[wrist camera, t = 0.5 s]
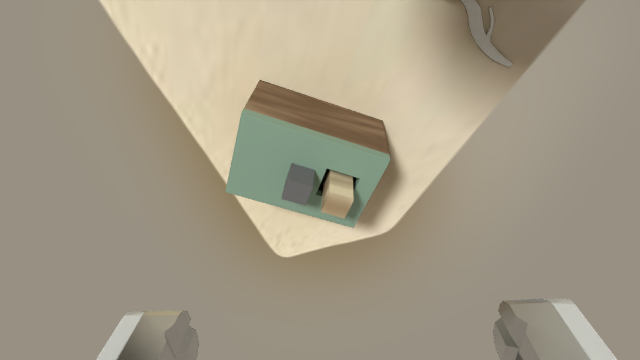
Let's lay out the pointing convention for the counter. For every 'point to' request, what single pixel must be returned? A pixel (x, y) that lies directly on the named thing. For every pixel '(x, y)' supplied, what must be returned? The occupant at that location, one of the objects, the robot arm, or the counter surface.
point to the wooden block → (337, 193)
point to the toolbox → (318, 116)
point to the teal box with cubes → (299, 166)
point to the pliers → (479, 33)
